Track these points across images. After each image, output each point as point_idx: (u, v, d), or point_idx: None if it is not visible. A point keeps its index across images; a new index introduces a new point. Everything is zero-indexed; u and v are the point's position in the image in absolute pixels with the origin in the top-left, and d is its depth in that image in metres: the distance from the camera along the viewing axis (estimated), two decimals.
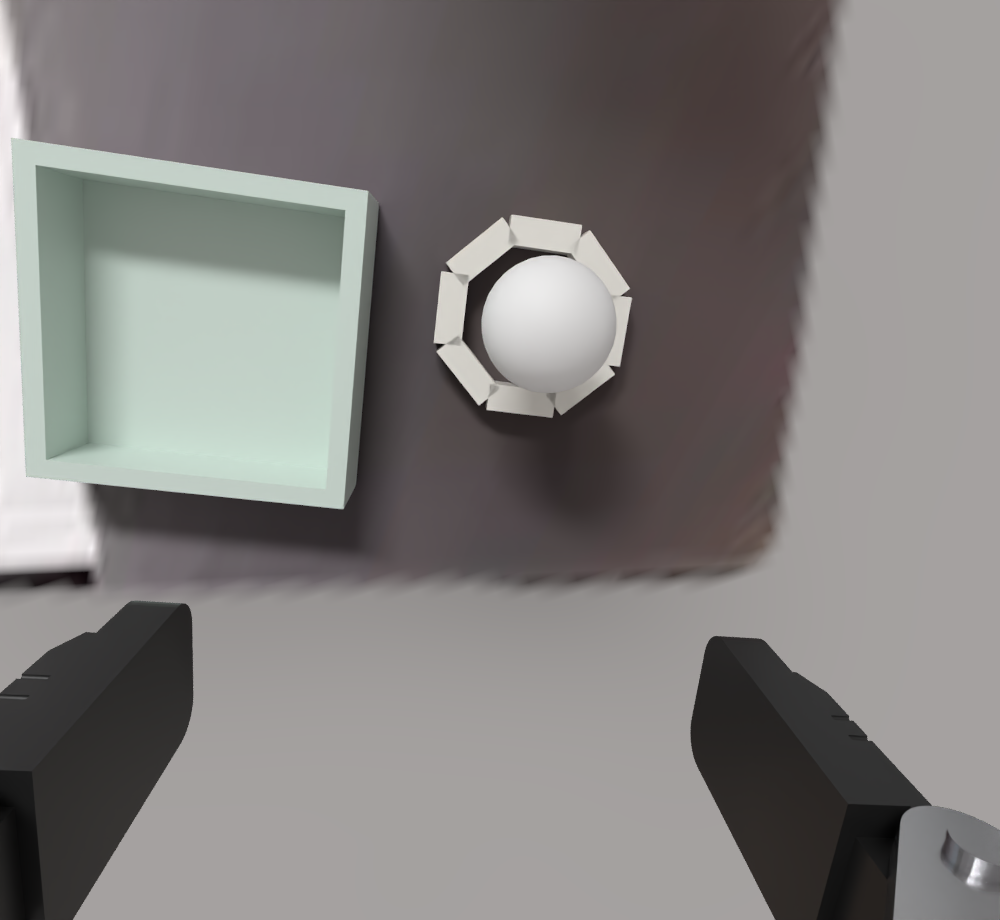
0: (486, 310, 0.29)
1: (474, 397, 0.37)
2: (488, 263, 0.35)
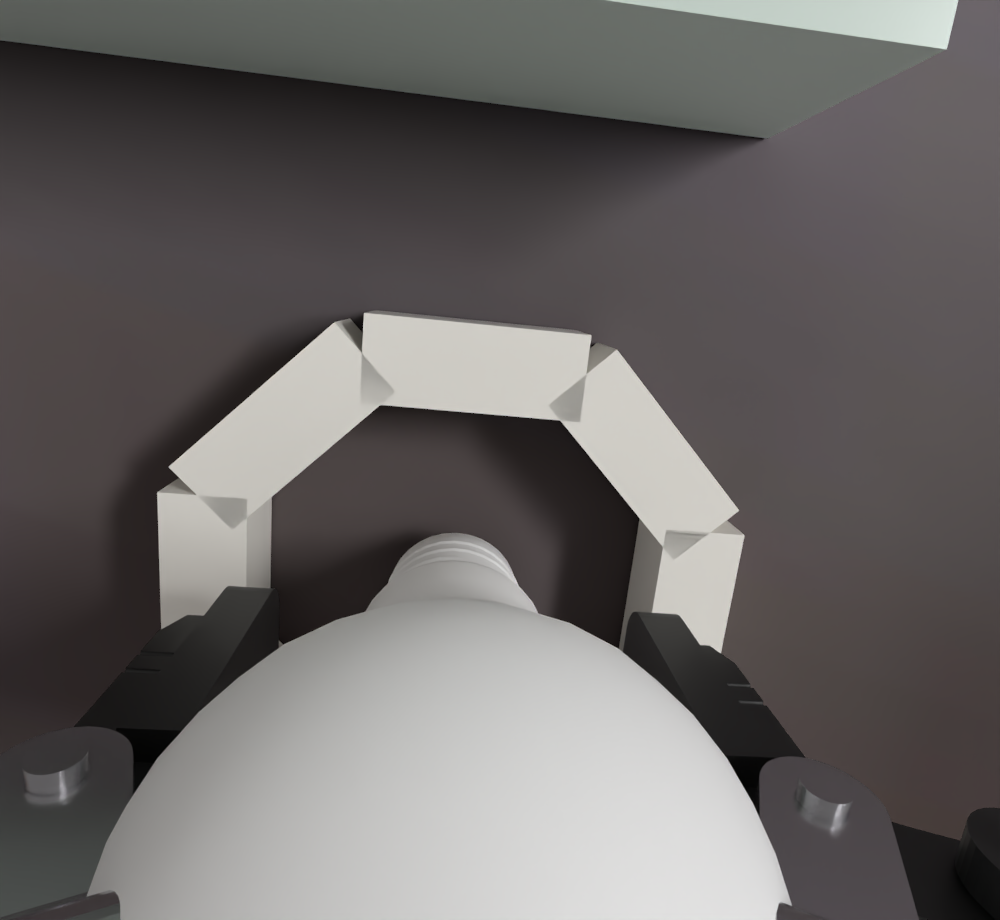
0: (521, 714, 0.05)
1: (193, 452, 0.11)
2: (613, 477, 0.12)
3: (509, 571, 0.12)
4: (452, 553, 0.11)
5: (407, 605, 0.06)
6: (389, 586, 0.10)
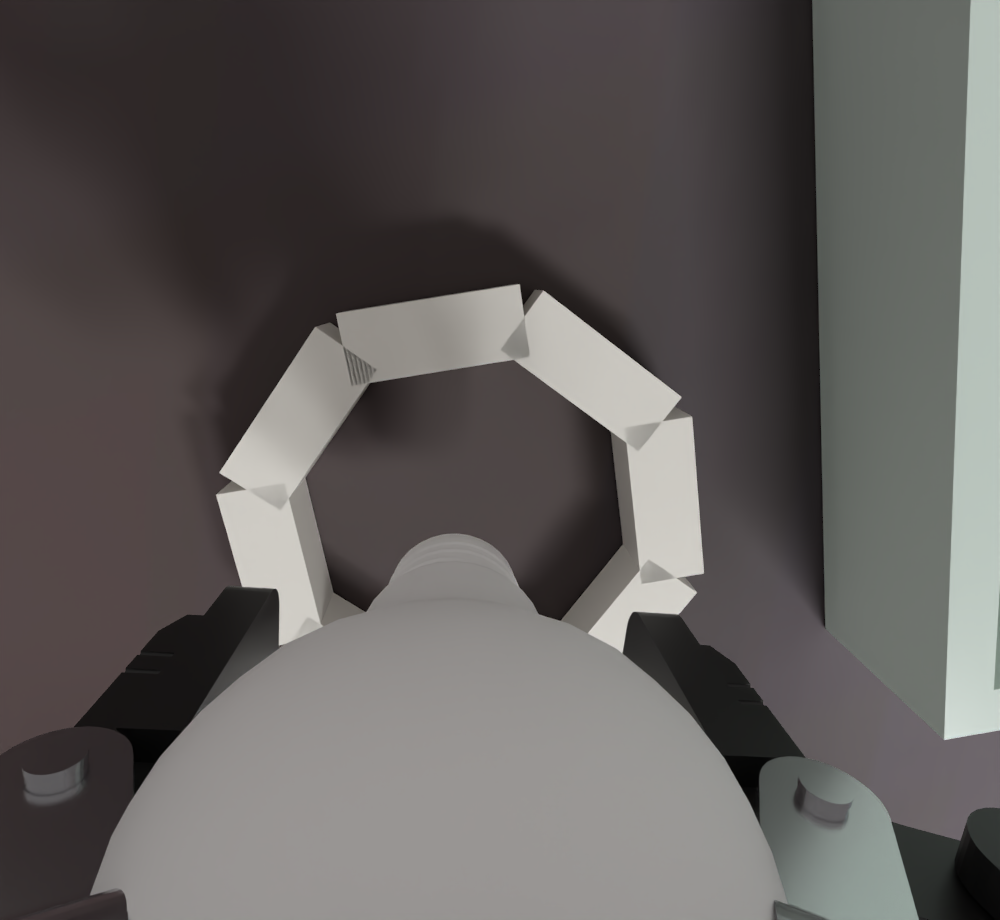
0: (519, 713, 0.05)
1: (560, 308, 0.14)
2: (604, 618, 0.15)
3: (509, 572, 0.12)
4: (453, 553, 0.11)
5: (407, 605, 0.06)
6: (390, 586, 0.10)
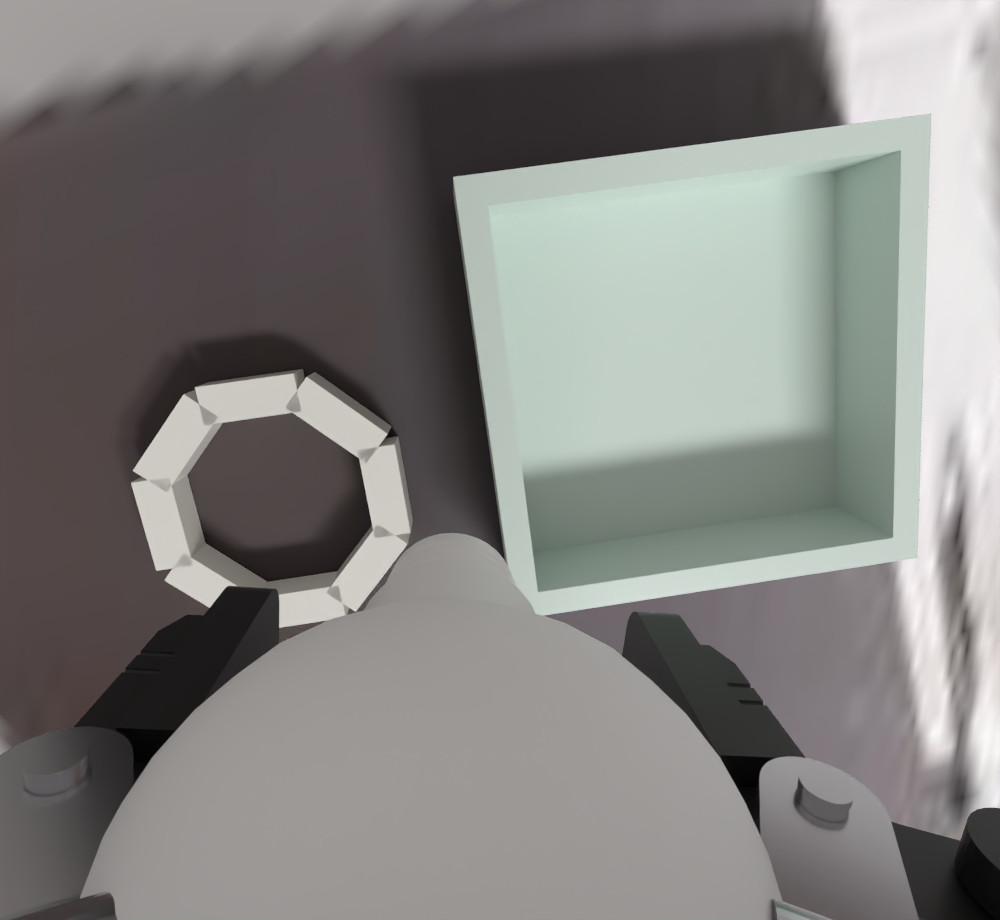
0: (512, 712, 0.05)
1: (316, 386, 0.25)
2: (355, 557, 0.27)
3: (507, 571, 0.12)
4: (451, 553, 0.11)
5: (402, 604, 0.06)
6: (387, 586, 0.10)
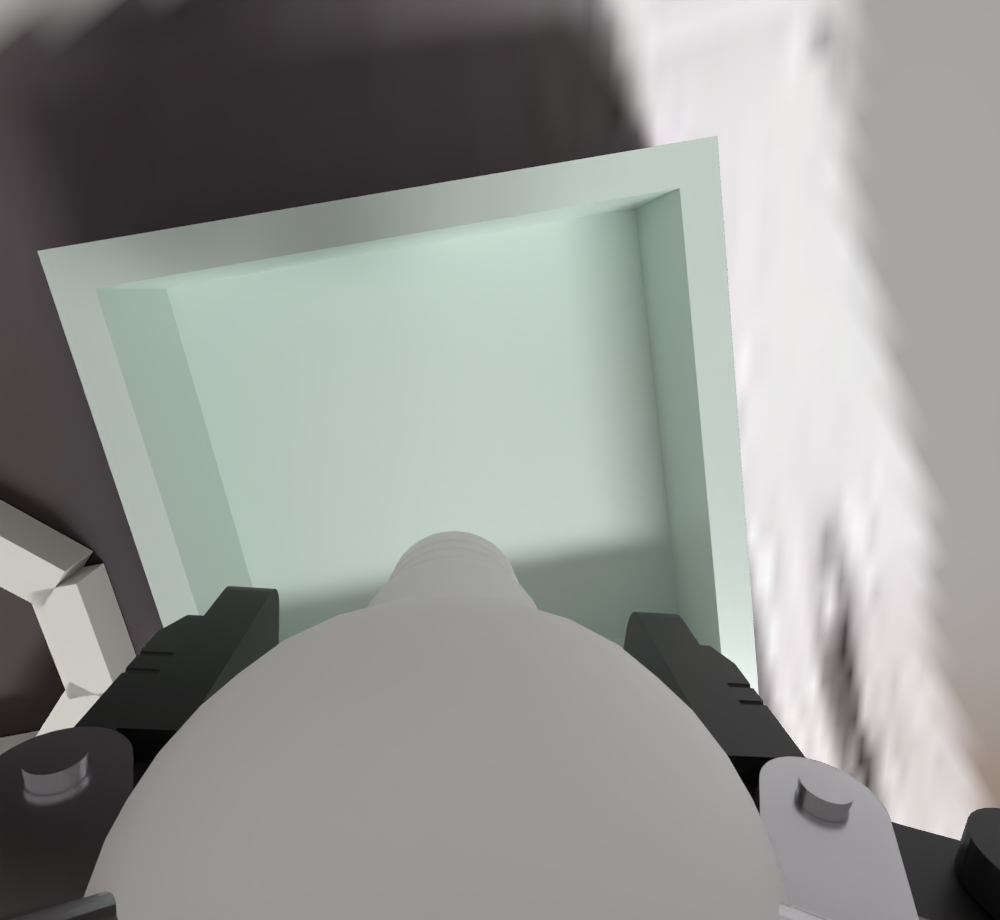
0: (520, 708, 0.05)
1: None
2: (47, 723, 0.21)
3: (510, 569, 0.12)
4: (453, 551, 0.11)
5: (407, 601, 0.06)
6: (390, 584, 0.10)
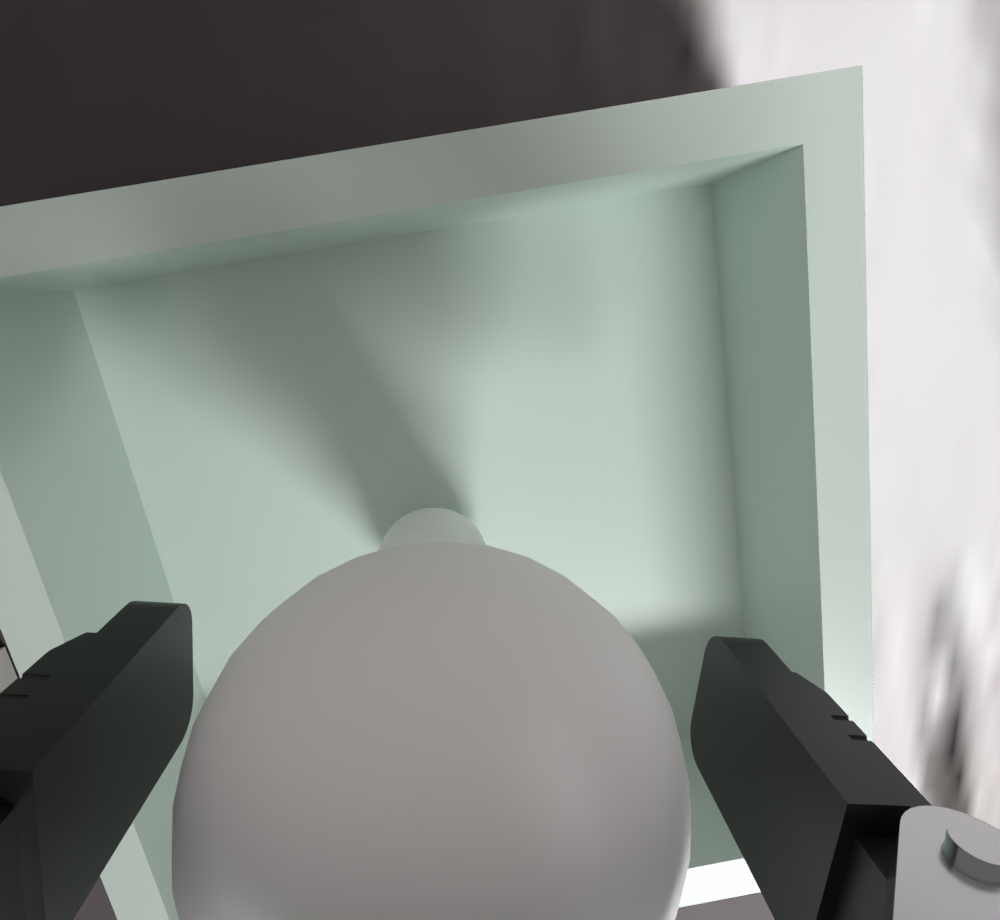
0: (492, 602, 0.07)
1: None
2: None
3: (481, 538, 0.14)
4: (434, 522, 0.14)
5: (408, 545, 0.08)
6: (382, 548, 0.12)
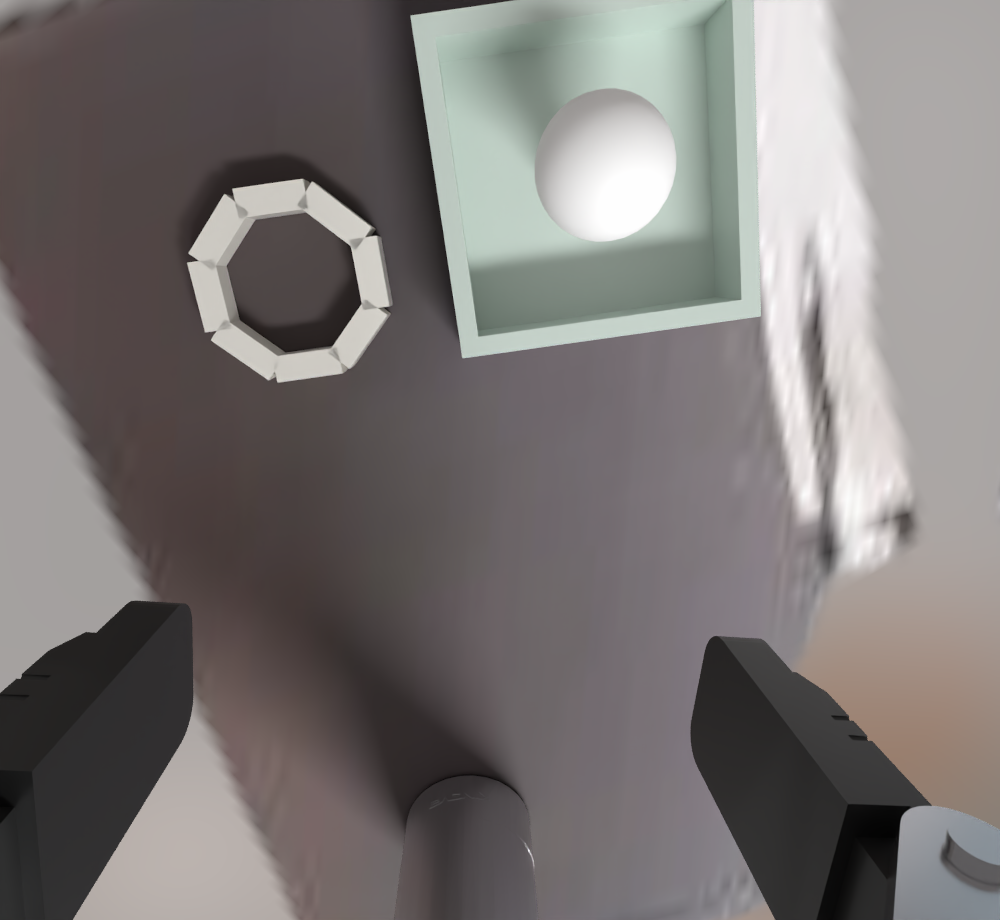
0: (626, 90, 0.27)
1: (319, 188, 0.35)
2: (349, 325, 0.37)
3: None
4: None
5: None
6: None
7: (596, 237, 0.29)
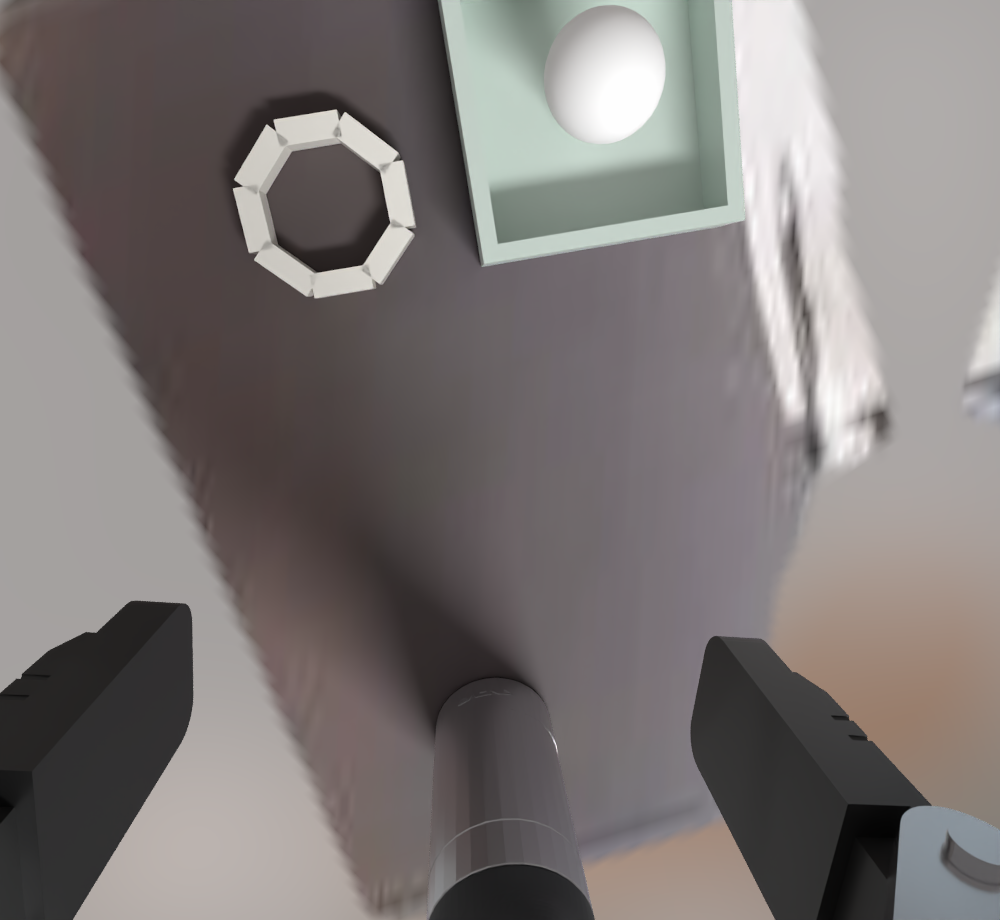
0: None
1: (351, 118, 0.39)
2: (378, 243, 0.41)
3: None
4: None
5: None
6: None
7: (599, 136, 0.33)
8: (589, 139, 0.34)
